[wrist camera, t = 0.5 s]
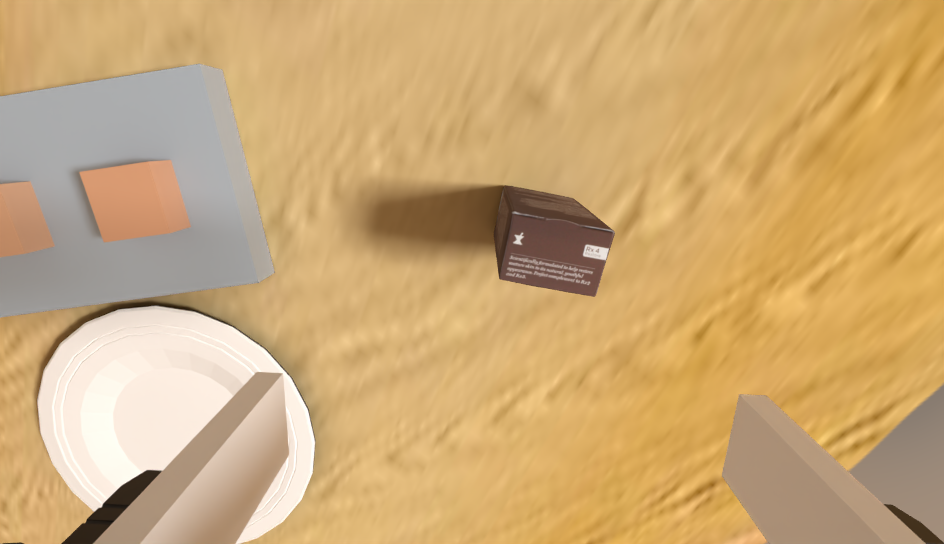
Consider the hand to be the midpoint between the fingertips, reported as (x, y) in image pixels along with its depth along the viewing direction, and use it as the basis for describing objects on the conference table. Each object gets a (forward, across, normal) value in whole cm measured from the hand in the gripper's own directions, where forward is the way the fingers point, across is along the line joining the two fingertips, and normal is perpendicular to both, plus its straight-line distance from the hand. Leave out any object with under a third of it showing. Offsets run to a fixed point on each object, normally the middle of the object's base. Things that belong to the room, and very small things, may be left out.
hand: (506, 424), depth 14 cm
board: (+26, -31, +2) cm, 41 cm away
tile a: (+23, -26, +2) cm, 35 cm away
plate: (+27, -27, -19) cm, 43 cm away
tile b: (+23, -37, 0) cm, 43 cm away
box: (+27, +3, +2) cm, 27 cm away
